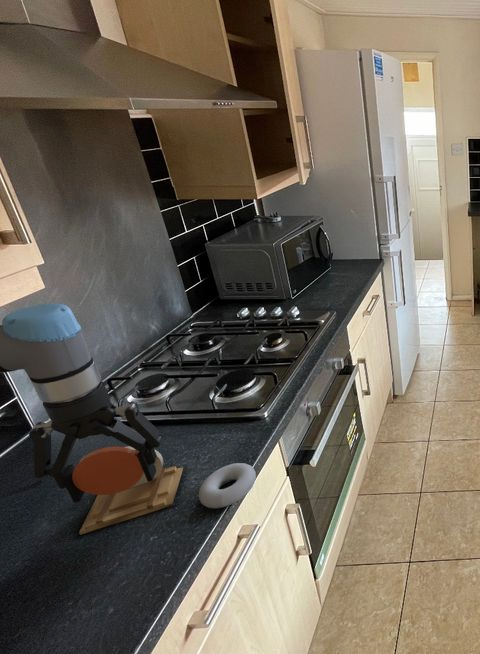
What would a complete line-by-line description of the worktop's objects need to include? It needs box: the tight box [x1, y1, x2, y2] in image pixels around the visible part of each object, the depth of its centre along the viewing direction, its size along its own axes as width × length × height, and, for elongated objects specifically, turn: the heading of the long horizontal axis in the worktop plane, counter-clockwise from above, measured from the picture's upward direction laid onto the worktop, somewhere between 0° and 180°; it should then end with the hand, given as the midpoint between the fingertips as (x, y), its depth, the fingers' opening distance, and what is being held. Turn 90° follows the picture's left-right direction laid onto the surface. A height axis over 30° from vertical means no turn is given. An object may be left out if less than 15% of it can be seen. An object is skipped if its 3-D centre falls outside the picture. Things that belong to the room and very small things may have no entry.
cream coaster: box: [125, 445, 164, 489], centre depth 85 cm, size 10×1×10 cm, turn 116°
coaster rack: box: [78, 465, 184, 536], centre depth 84 cm, size 14×10×2 cm
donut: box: [198, 462, 257, 509], centre depth 86 cm, size 10×4×10 cm
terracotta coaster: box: [72, 446, 144, 496], centre depth 78 cm, size 10×1×10 cm, turn 116°
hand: (117, 485), depth 79 cm, fingers closed on terracotta coaster, 10 cm apart
